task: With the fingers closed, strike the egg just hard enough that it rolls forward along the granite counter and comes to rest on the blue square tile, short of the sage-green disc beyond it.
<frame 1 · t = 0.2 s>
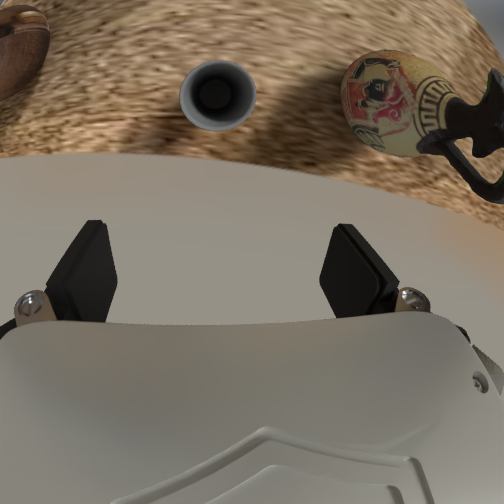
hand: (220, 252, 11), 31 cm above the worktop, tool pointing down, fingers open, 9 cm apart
wooden sphere: (31, 53, 22), on the worktop
cup: (215, 93, 33), on the worktop
ceramic jug: (365, 101, 36), on the worktop
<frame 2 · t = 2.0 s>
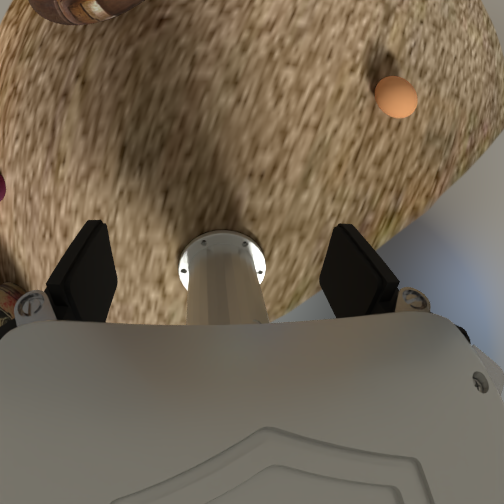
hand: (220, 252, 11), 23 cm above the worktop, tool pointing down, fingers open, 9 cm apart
egg: (396, 96, 26), on the worktop
ceramic jug: (14, 295, 37), on the worktop
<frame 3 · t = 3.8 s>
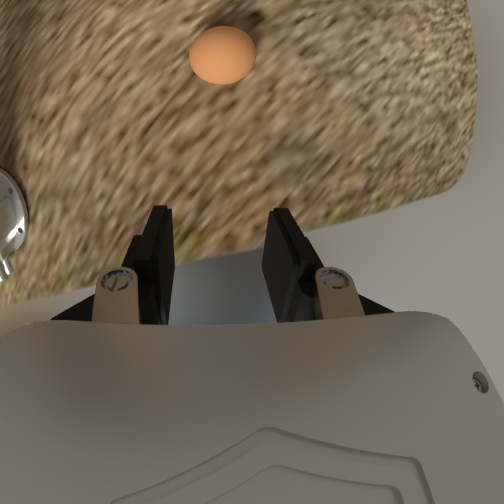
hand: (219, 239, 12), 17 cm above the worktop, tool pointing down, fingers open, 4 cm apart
egg: (222, 54, 18), on the worktop
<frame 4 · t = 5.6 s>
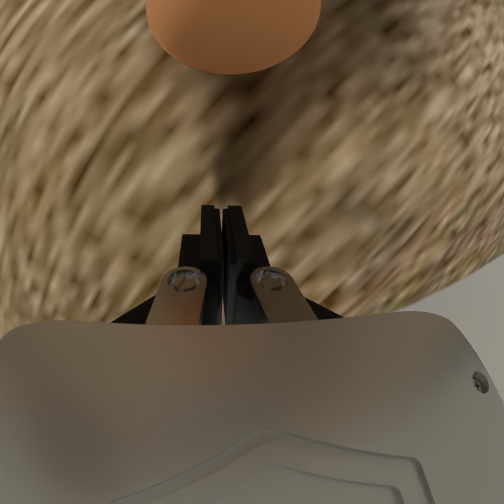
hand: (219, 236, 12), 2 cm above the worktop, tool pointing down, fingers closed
egg: (233, 2, 6), on the worktop
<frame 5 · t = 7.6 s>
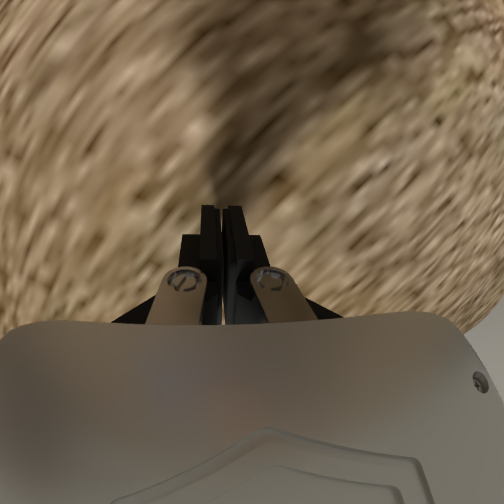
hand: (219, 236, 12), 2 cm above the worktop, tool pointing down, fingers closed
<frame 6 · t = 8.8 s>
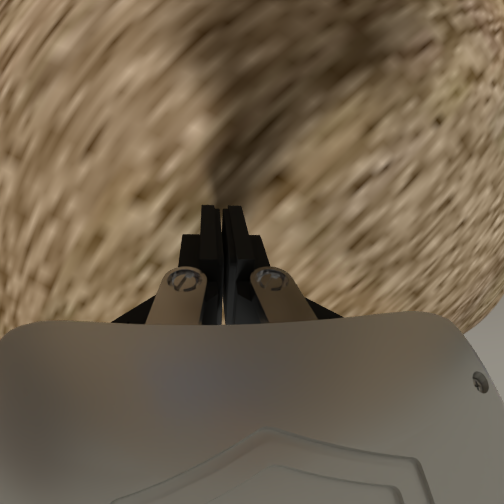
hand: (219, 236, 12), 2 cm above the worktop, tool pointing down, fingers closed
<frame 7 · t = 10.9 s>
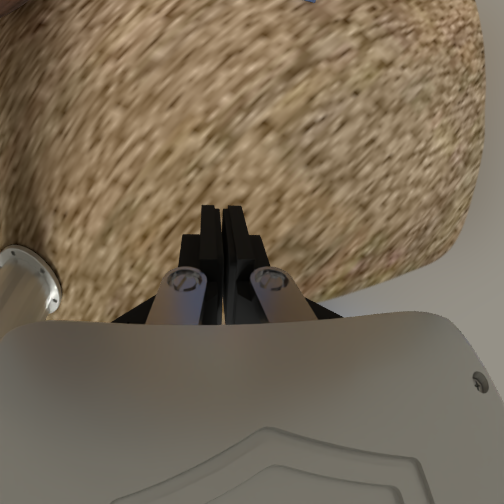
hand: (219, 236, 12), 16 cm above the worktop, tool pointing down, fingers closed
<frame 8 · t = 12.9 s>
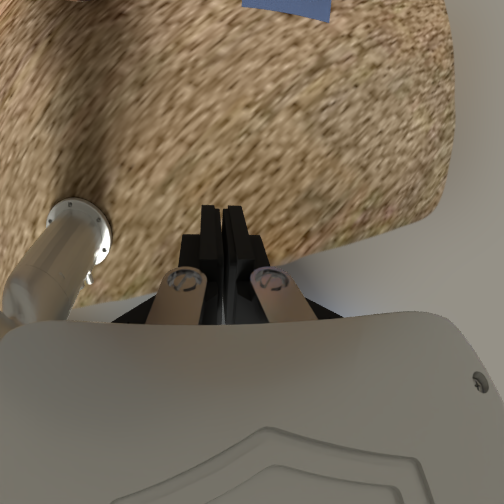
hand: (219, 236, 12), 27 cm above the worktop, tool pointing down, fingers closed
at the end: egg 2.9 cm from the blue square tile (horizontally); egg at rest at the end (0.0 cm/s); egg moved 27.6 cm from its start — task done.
